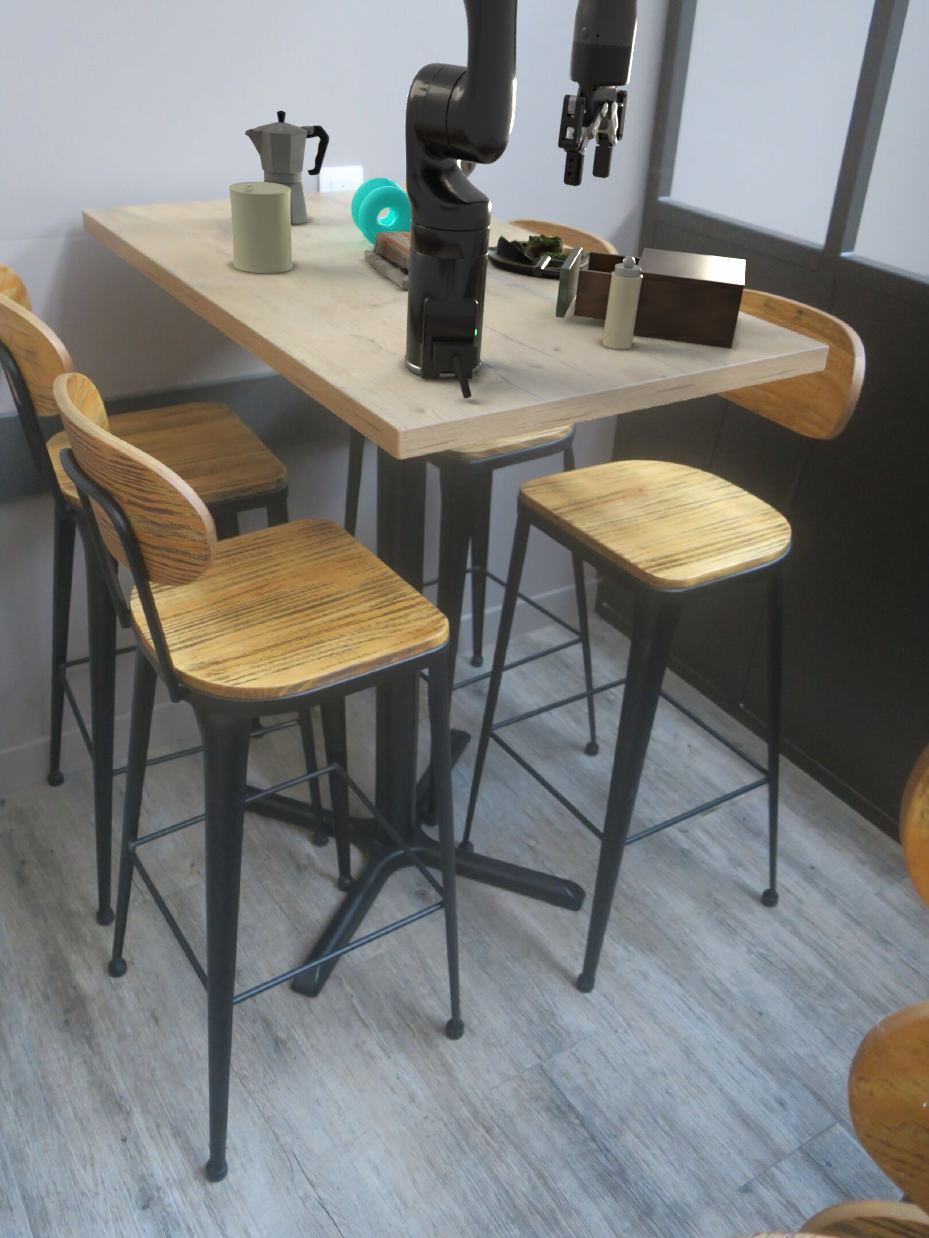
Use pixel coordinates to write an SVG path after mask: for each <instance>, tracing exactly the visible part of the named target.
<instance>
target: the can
mask: <svg viewBox="0 0 929 1238" xmlns="http://www.w3.org/2000/svg"><path fill="white" fill-rule="evenodd" d="M228 189H229V197H230V213H231V229H232V230H231V232H232V249H233V252H232V253H233V260H232V261H233V262H232V266H233V267H234V268H235V269H236V270H238V271H242V272H245V273H251V274H252V273H253V274H279V273H284V272H287V271H290V270H291V269H293V267H294V263H293V256H292V255H293V254H292V225H291V212H290V192H291V189H290V188H289V187H288V186H285V185H282V184H277V183H270V182H264V181H242V182H237V183H233V184H231V185H229V187H228Z"/></svg>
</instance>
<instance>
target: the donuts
mask: <svg viewBox="0 0 929 1238" xmlns="http://www.w3.org/2000/svg"><path fill="white" fill-rule="evenodd" d="M350 204H351V205H350V212H351V217H352V220H353V222H354V224H355V226H356V228H357V229H358V230H359V231H360V232H361V233H362V235H363V237H364V238H365V240H367V242H368V243H370V244H371V245H373V246H374V243H375V237H376V233H379V232H392V231H394V232H396V231H406V232H409V233H410V229H411V206H410V202H409V199H408V195H407V191H405V190H404V189H403V188H402V187H401V186H400V185H399V184H398V183H396V182H395V181H394V180H392V179H390V178H386V177H374V178H370V179H368V180H366V181H364V182H363V183H361V184H360V185H359V186H358V187H357V189H356V191H355V192H354V194H353V196H352V199H351V203H350ZM384 209H388V212H387V214H386V215H385V216H384V217H380V213H381V212H382V211H383V210H384Z"/></svg>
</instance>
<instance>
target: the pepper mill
mask: <svg viewBox="0 0 929 1238" xmlns="http://www.w3.org/2000/svg"><path fill="white" fill-rule="evenodd" d="M631 256H632V255H627V257H625V258H624V260H623V263H620V264H616V265H615V271H614V272H612V276H611V283H610V290H609V297H608V305H607V312H606V319H605V320H604V327H603V334H602V342H601V344H602V346H604V347H605V348H609V349H613V350H629V349H631V348H632V346H633V340H634V335H633V334H634V328H635V321H636V315H637V308H638V302H639V295H640V289H641V282H642V275H641V267H640V266H638V265H635V260H634V258H633V257H631Z"/></svg>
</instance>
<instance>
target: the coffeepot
mask: <svg viewBox="0 0 929 1238" xmlns="http://www.w3.org/2000/svg"><path fill="white" fill-rule="evenodd" d="M286 114H287V112H286V111H284V110H278V111H276V116H277V121H275V122H271V123H268V124H263V125H258V126H256V127H255V128H248V129H247V130H246V131H245V132H244V135H245V136H247V137H248V138H249V139H250V141H251V143H252V145H253V147H254V148H255V150H256V152H257V153H258V155H259V159H260V165H261V170H262V171H263V182H270V183H277V184H282V185H285V186H288V187H289V188H290V189H291V192H290V212H291V226H293V225H300V224H304V223H308V221H309V213H308V207H307V201H306V195H305V189H304V184H303V183H304V182H303V179H302V178H303V176H302V173H303V169H304V161H305V154H306V144H307V140H308V139H313V138H317V137H318V138H319V141H318V145H317V153H316V155H315V157H314V167H313V168H311V169H307V173H308V175H309V176H317V175H320V173H321V171H322V167H323V163H324V159H325V156H326V153H327V149H328V146H329V144H330V136H329V134H328V132H327V131H326V130H325V129H324V128H323V126H322V125H317V124H316V125H301V126H298V125H295V124H291V123H288V122H286Z"/></svg>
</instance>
